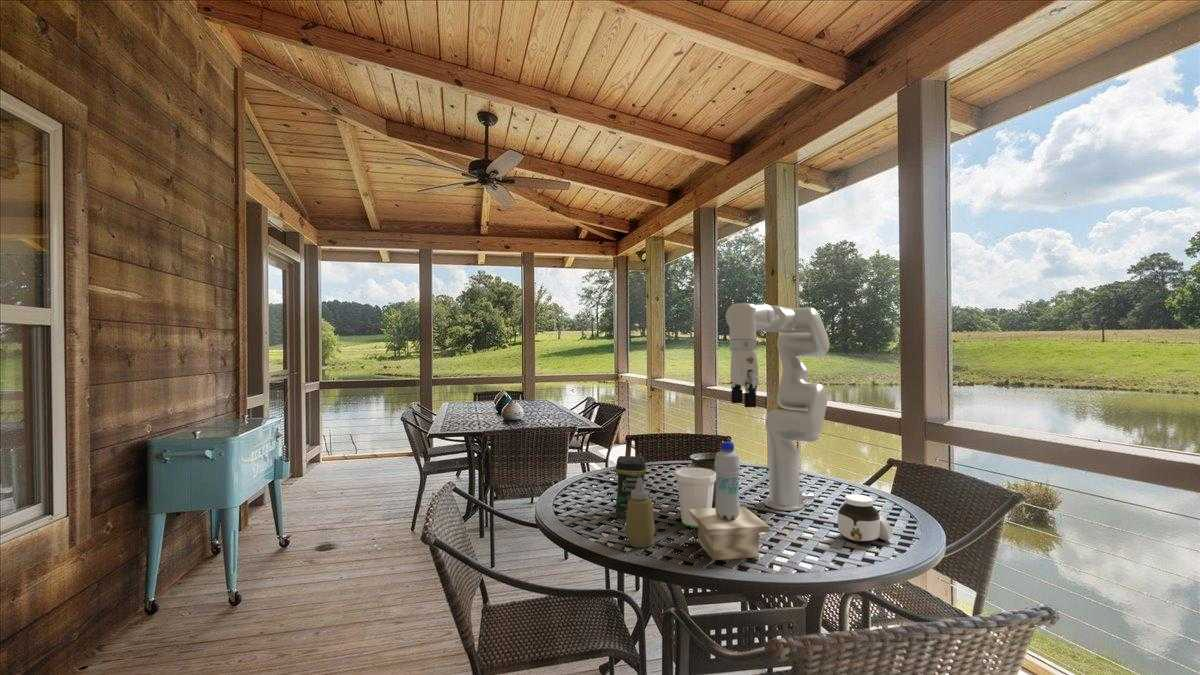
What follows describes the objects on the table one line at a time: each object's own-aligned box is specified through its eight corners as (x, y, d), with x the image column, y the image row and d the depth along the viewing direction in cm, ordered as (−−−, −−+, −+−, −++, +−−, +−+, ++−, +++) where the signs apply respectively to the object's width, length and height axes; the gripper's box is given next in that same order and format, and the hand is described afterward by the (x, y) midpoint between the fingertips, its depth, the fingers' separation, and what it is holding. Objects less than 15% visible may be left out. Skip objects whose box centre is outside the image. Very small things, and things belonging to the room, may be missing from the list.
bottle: (738, 513, 147) (738, 439, 147) (742, 521, 140) (742, 444, 140) (713, 512, 147) (712, 438, 147) (716, 521, 141) (715, 443, 141)
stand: (744, 536, 152) (744, 506, 152) (769, 559, 137) (769, 526, 137) (689, 540, 150) (689, 509, 150) (708, 563, 134) (707, 529, 134)
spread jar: (834, 538, 151) (833, 496, 151) (855, 529, 158) (855, 489, 158) (877, 551, 141) (877, 506, 141) (898, 541, 148) (897, 498, 148)
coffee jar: (614, 518, 168) (613, 458, 168) (617, 510, 176) (616, 453, 176) (645, 520, 167) (645, 459, 167) (647, 511, 175) (646, 454, 175)
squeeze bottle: (625, 538, 152) (624, 474, 152) (654, 538, 151) (653, 474, 151) (625, 550, 144) (625, 482, 144) (656, 550, 143) (655, 482, 143)
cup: (723, 528, 159) (723, 476, 159) (682, 531, 157) (682, 478, 157) (708, 515, 171) (707, 466, 171) (670, 517, 169) (669, 468, 169)
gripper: (768, 346, 149) (768, 408, 149) (743, 345, 167) (744, 401, 167) (742, 346, 148) (742, 409, 149) (720, 345, 166) (720, 401, 166)
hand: (743, 404), depth 158 cm, fingers open, 9 cm apart
